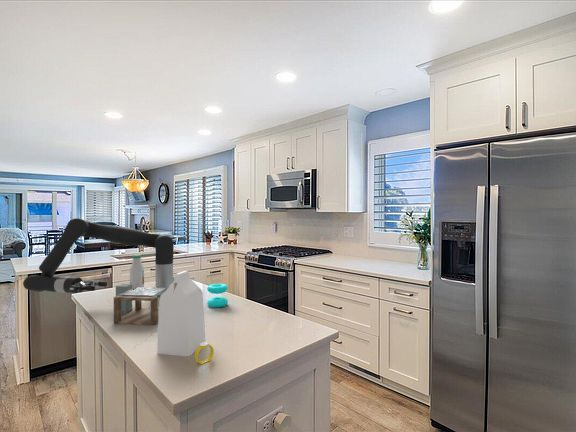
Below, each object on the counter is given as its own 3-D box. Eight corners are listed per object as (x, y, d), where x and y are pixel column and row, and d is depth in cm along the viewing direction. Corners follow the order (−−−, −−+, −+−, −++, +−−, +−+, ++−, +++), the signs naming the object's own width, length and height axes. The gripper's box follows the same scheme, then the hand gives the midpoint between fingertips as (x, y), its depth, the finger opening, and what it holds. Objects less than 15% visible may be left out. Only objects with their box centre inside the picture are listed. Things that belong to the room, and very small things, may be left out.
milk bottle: (140, 289, 192) (140, 256, 192) (127, 289, 192) (127, 256, 192) (146, 286, 200) (146, 254, 199) (133, 286, 200) (133, 254, 199)
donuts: (218, 282, 169) (232, 284, 163) (218, 301, 169) (232, 304, 163) (203, 285, 161) (216, 288, 155) (203, 305, 161) (216, 309, 155)
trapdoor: (114, 301, 138) (114, 294, 138) (132, 293, 151) (132, 287, 151) (152, 303, 136) (152, 295, 136) (167, 294, 150) (167, 287, 150)
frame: (113, 323, 136) (113, 297, 135) (137, 310, 154) (137, 286, 153) (155, 324, 134) (155, 298, 134) (174, 311, 152) (174, 287, 152)
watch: (198, 367, 99) (197, 348, 98) (193, 365, 100) (192, 346, 100) (215, 359, 103) (214, 341, 102) (210, 357, 105) (209, 339, 104)
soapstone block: (122, 308, 156) (122, 283, 155) (132, 309, 155) (132, 284, 155) (115, 312, 151) (115, 286, 150) (126, 312, 150) (125, 286, 150)
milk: (188, 356, 105) (188, 276, 105) (157, 353, 108) (156, 275, 107) (205, 341, 117) (205, 269, 117) (176, 339, 119) (176, 268, 119)
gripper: (56, 280, 148) (90, 281, 146) (79, 274, 162) (110, 275, 161) (56, 296, 148) (90, 298, 146) (79, 289, 162) (110, 290, 161)
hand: (100, 286), depth 153 cm, fingers open, 8 cm apart
